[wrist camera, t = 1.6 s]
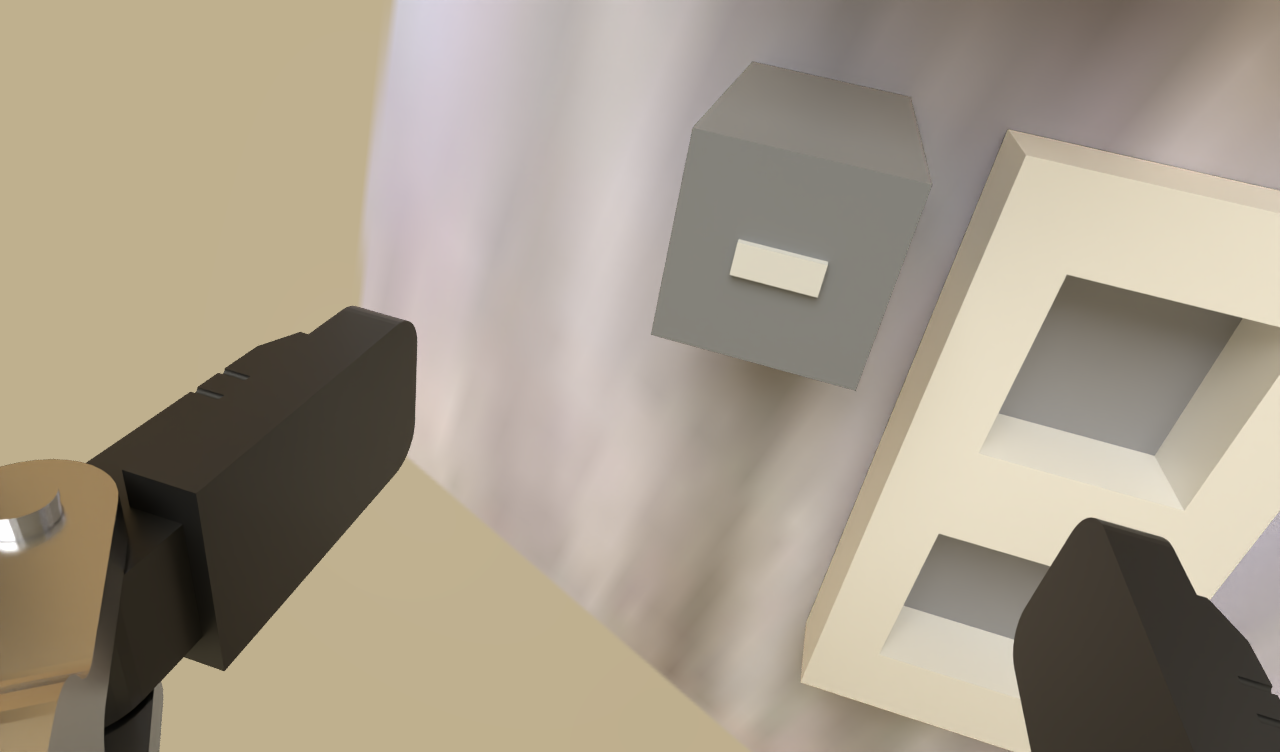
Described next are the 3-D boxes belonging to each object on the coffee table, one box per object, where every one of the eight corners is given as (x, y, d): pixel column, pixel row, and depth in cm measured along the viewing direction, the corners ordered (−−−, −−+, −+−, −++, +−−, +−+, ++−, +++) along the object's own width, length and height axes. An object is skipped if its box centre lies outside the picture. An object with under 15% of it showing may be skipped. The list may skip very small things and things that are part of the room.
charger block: (910, 97, 22) (933, 187, 14) (860, 246, 24) (855, 395, 16) (752, 61, 22) (690, 129, 15) (718, 211, 25) (648, 338, 17)
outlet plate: (1401, 218, 20) (1477, 258, 18) (1058, 702, 31) (1075, 771, 28) (1007, 129, 22) (1025, 155, 19) (806, 623, 32) (800, 682, 29)
